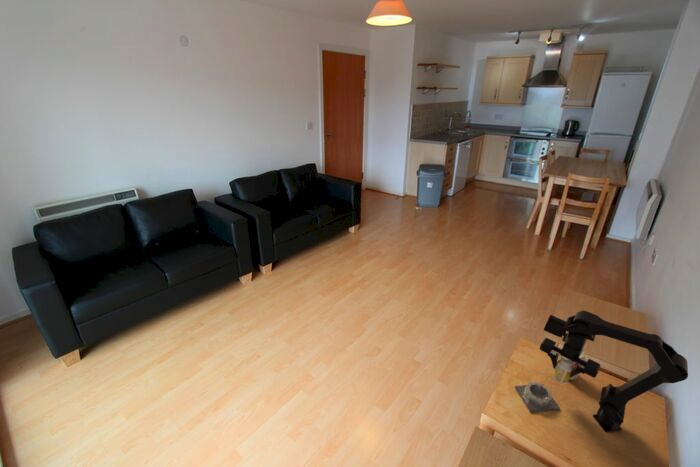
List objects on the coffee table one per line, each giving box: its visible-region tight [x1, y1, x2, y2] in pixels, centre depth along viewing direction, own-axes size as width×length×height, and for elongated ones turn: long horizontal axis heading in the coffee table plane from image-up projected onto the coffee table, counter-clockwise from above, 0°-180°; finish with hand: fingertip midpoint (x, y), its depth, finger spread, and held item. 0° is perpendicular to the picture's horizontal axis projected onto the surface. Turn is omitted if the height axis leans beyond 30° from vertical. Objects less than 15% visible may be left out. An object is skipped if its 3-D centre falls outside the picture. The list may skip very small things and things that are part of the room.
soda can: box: [568, 350, 586, 381], centre depth 139 cm, size 7×7×13 cm
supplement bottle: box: [552, 356, 573, 384], centre depth 126 cm, size 5×5×10 cm
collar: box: [514, 381, 561, 413], centre depth 130 cm, size 11×12×4 cm
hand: (562, 372), depth 127 cm, fingers closed on supplement bottle, 5 cm apart
